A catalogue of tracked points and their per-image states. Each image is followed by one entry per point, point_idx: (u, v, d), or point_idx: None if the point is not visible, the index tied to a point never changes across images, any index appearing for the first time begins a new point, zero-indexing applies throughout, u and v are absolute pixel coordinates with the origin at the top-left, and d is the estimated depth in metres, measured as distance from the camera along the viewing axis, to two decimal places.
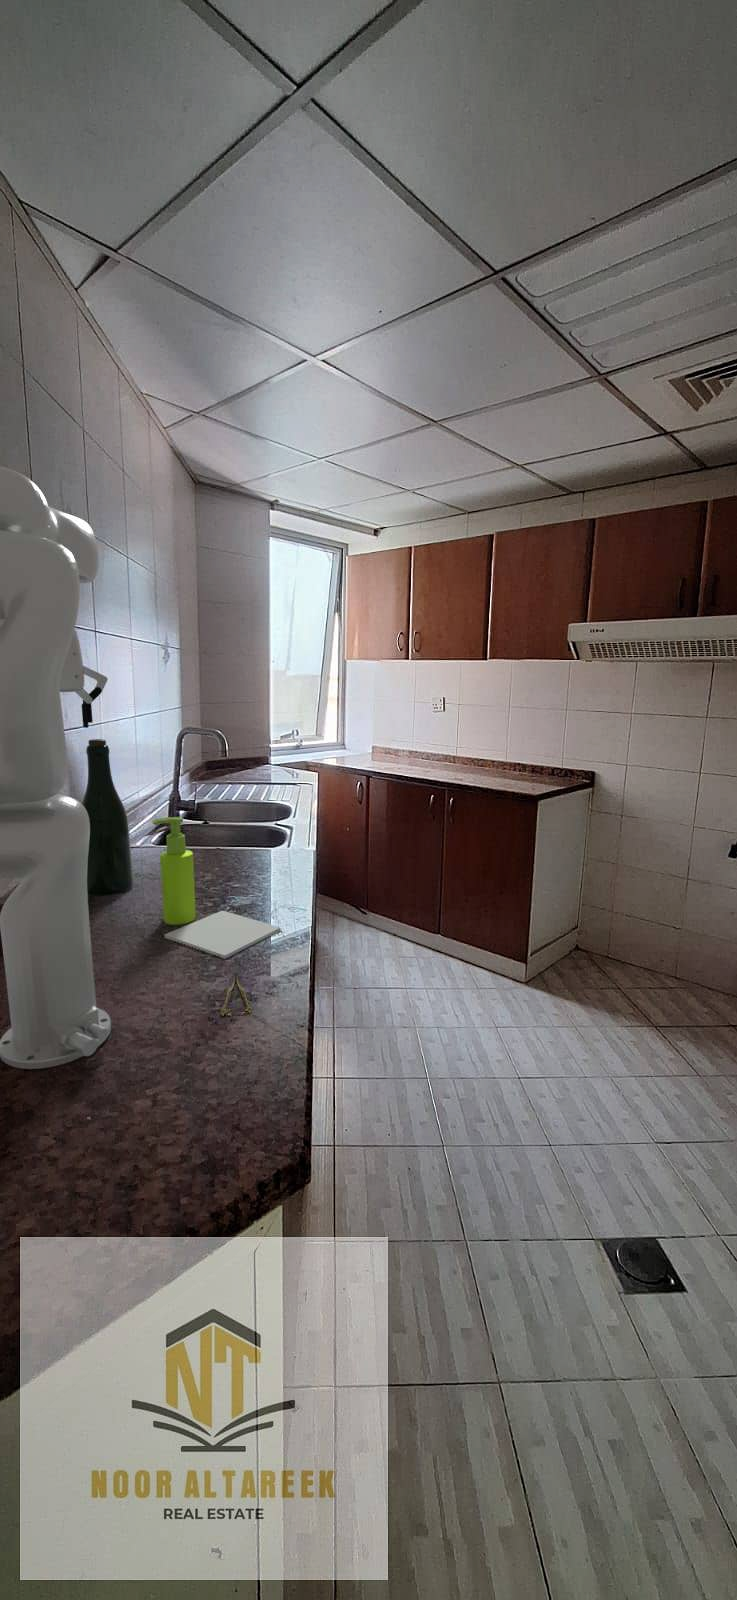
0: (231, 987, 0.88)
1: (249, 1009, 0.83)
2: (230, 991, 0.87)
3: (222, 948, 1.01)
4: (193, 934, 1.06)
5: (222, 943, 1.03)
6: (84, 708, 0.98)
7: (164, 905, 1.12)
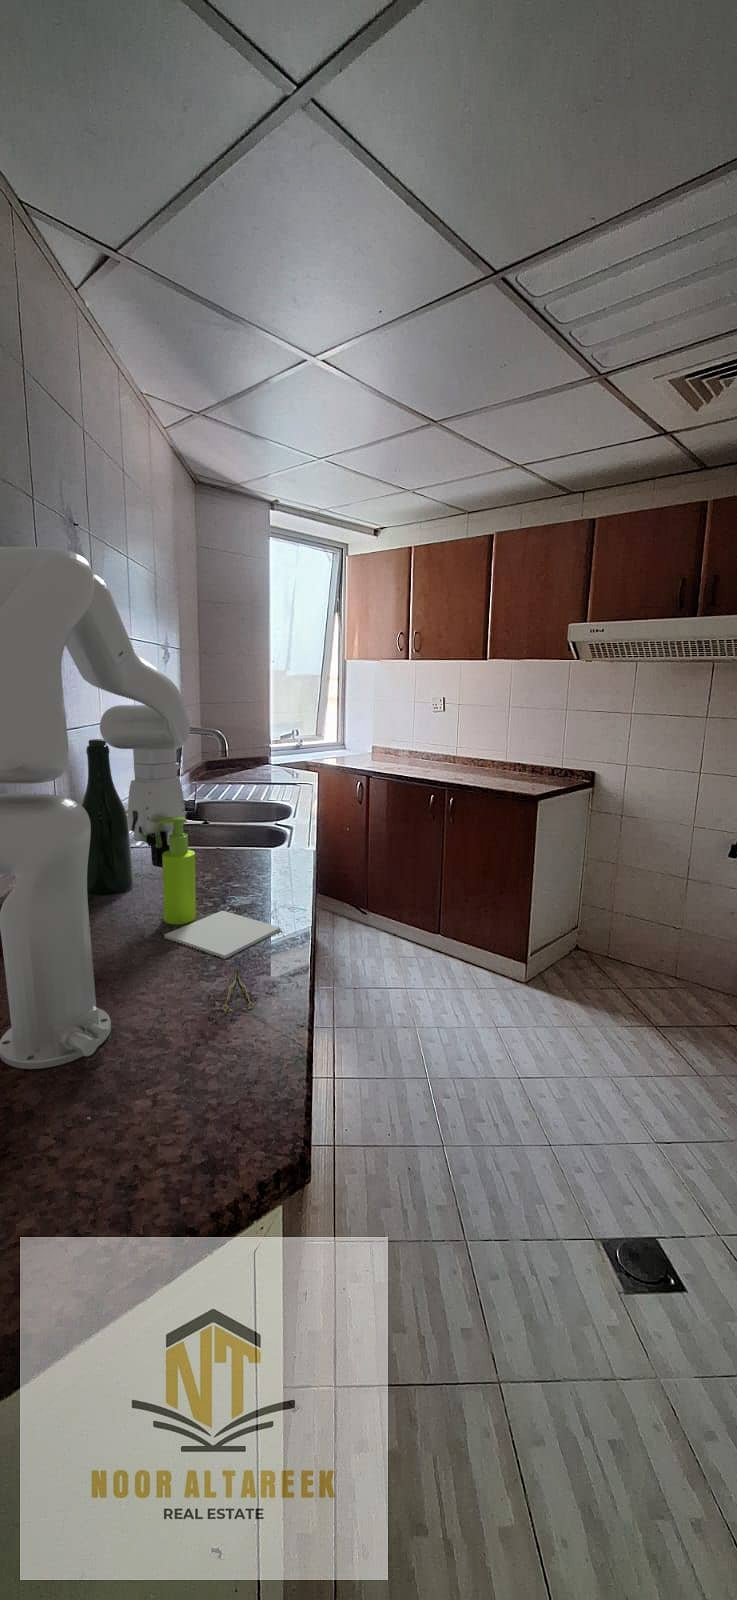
0: (233, 984, 0.89)
1: (251, 1005, 0.84)
2: (232, 988, 0.88)
3: (222, 948, 1.01)
4: (193, 934, 1.06)
5: (222, 943, 1.03)
6: None
7: (165, 904, 1.12)
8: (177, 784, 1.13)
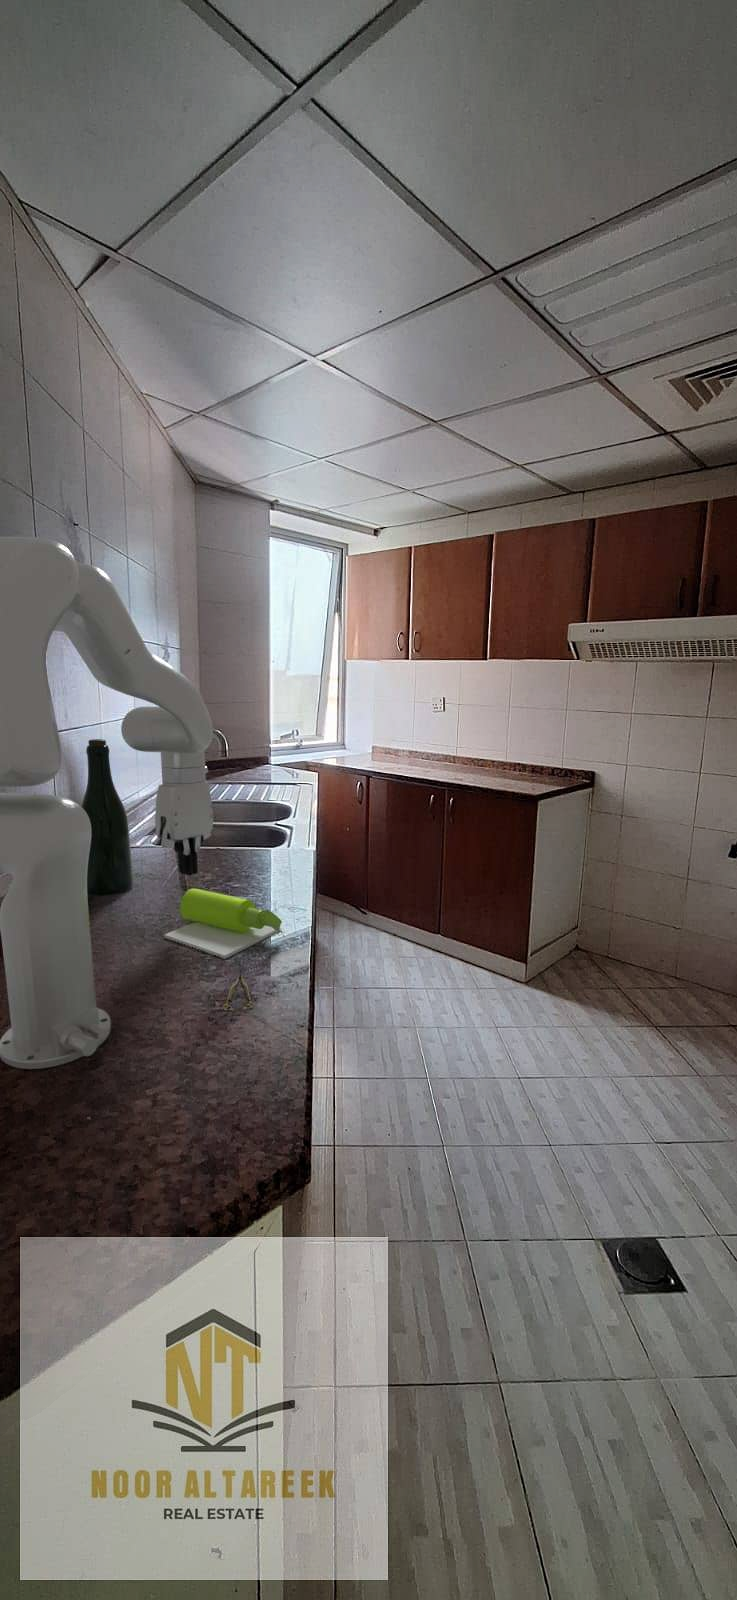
0: (235, 983, 0.89)
1: (251, 1004, 0.84)
2: (234, 987, 0.88)
3: (222, 948, 1.01)
4: (193, 934, 1.06)
5: (222, 943, 1.03)
6: None
7: (194, 905, 1.09)
8: (205, 789, 1.09)
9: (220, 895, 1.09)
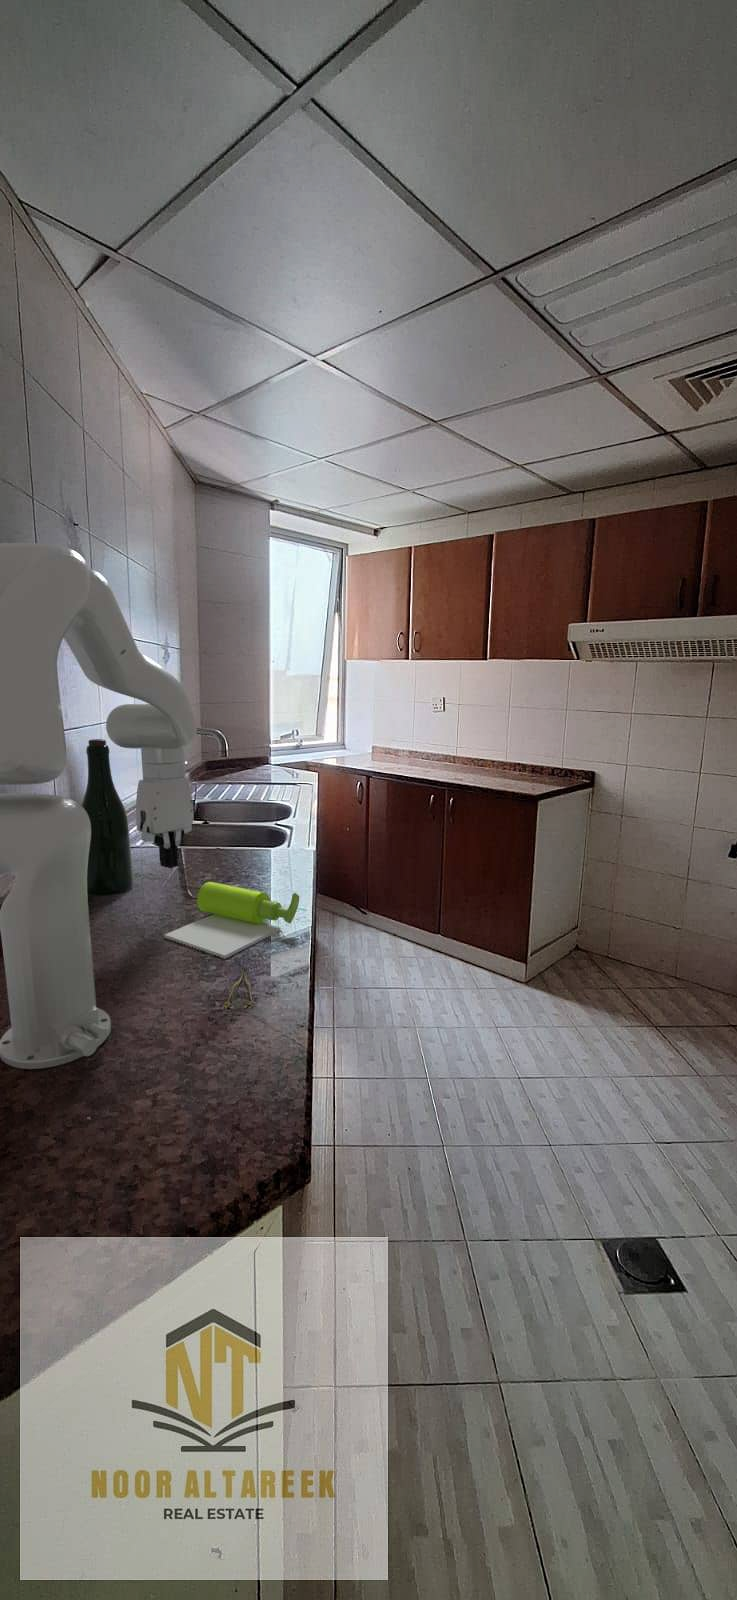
0: (238, 981, 0.90)
1: (252, 1003, 0.84)
2: (237, 985, 0.89)
3: (222, 948, 1.01)
4: (193, 934, 1.06)
5: (222, 943, 1.03)
6: None
7: (224, 884, 1.16)
8: (185, 784, 1.12)
9: None
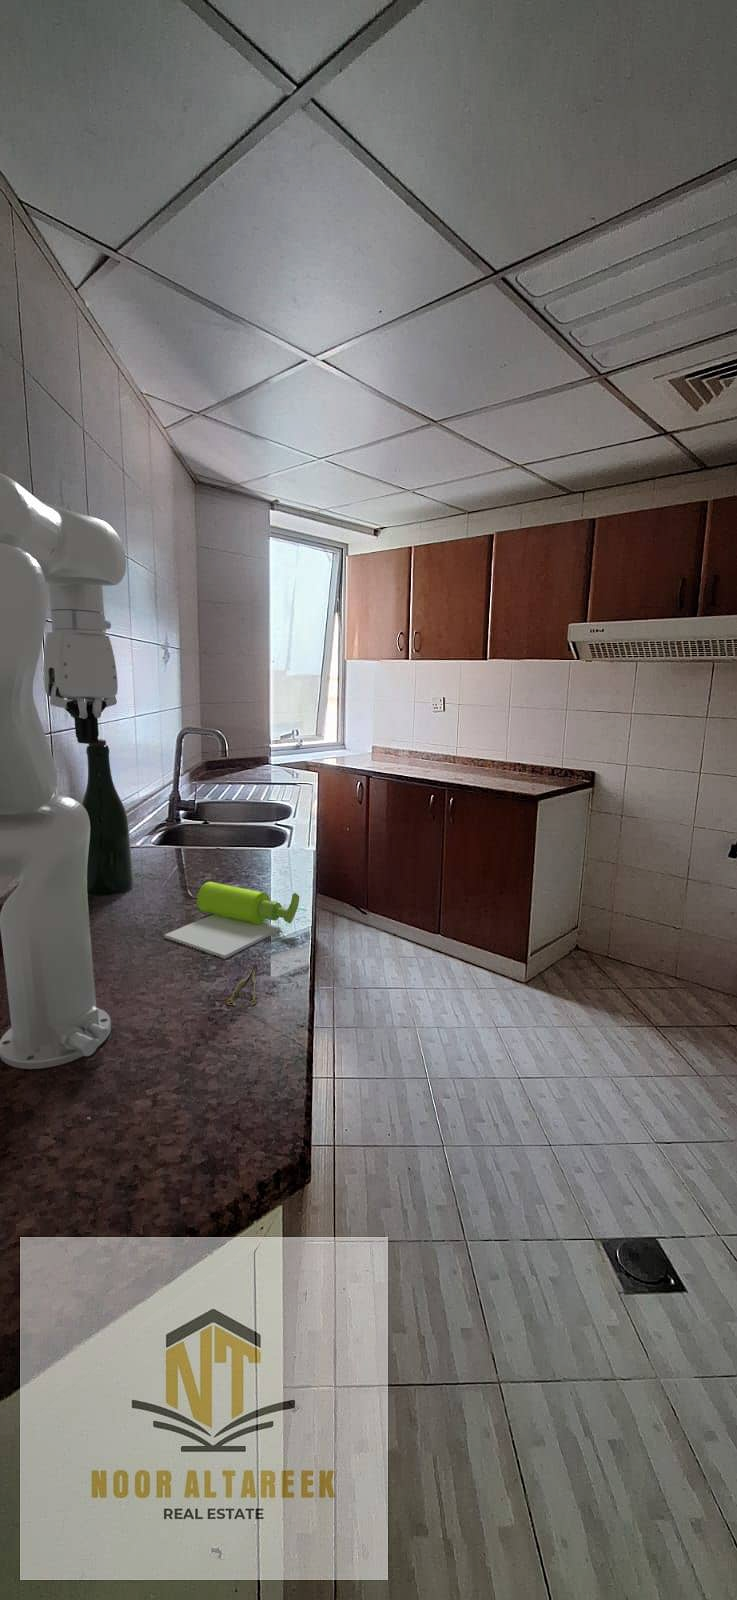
0: (245, 978, 0.91)
1: (254, 1001, 0.85)
2: (243, 982, 0.90)
3: (222, 948, 1.01)
4: (193, 934, 1.06)
5: (222, 943, 1.03)
6: None
7: (224, 884, 1.16)
8: (106, 643, 0.94)
9: None
